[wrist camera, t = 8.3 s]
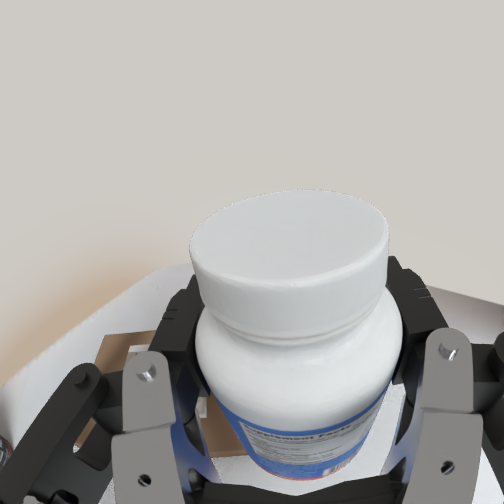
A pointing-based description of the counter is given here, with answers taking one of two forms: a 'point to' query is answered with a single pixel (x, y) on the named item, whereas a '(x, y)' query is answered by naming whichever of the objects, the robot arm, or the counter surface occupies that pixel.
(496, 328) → the counter surface
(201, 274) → the pill bottle
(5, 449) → the supplement bottle
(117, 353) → the walnut board
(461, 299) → the counter surface
